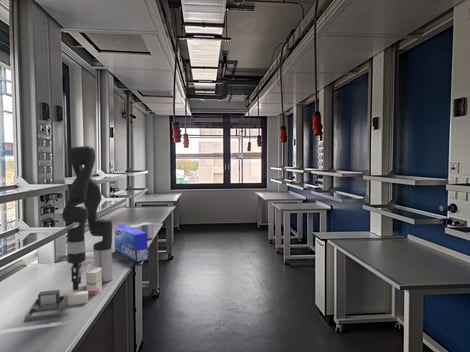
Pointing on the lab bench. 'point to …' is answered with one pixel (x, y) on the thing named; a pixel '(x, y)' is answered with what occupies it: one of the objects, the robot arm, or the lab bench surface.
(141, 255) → the toner cartridge box
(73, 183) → the robot arm
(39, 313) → the tray with compartments
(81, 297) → the block
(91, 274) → the ink cartridge box
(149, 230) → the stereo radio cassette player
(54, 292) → the block
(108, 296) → the lab bench surface
